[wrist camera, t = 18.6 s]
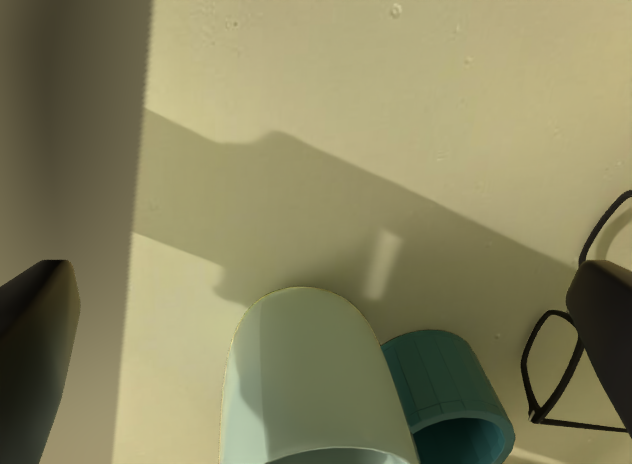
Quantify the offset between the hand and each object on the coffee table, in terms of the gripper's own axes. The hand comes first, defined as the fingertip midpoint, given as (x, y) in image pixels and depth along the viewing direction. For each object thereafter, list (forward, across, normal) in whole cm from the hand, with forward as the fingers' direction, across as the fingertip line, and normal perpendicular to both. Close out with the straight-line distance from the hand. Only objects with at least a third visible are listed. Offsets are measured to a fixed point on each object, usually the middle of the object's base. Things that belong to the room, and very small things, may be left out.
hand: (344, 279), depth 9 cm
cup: (+13, -1, +13) cm, 19 cm away
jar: (+13, -9, +18) cm, 24 cm away
